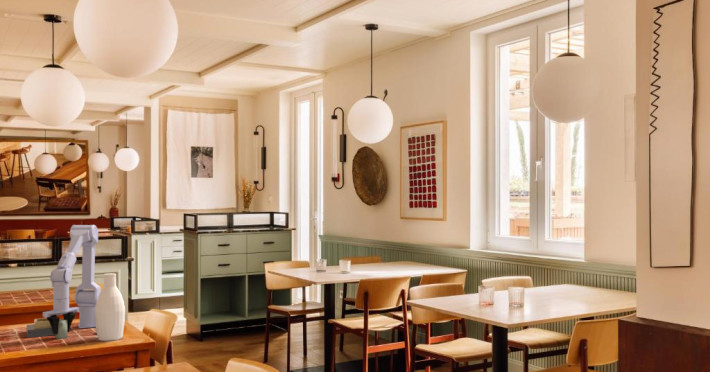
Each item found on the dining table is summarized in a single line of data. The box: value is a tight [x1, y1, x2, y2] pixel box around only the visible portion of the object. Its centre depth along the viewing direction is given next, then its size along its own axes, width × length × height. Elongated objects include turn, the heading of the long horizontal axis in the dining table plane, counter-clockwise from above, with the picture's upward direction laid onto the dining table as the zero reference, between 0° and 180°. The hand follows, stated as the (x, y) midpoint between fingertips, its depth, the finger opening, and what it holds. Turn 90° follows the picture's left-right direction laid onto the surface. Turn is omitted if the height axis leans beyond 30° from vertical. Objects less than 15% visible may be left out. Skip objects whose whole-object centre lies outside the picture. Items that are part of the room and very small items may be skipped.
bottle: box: [95, 272, 126, 342], centre depth 267 cm, size 11×11×25 cm
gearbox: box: [26, 317, 55, 338], centre depth 278 cm, size 14×12×6 cm
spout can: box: [54, 318, 68, 340], centre depth 269 cm, size 4×6×7 cm
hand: (61, 333), depth 269 cm, fingers closed on spout can, 4 cm apart
